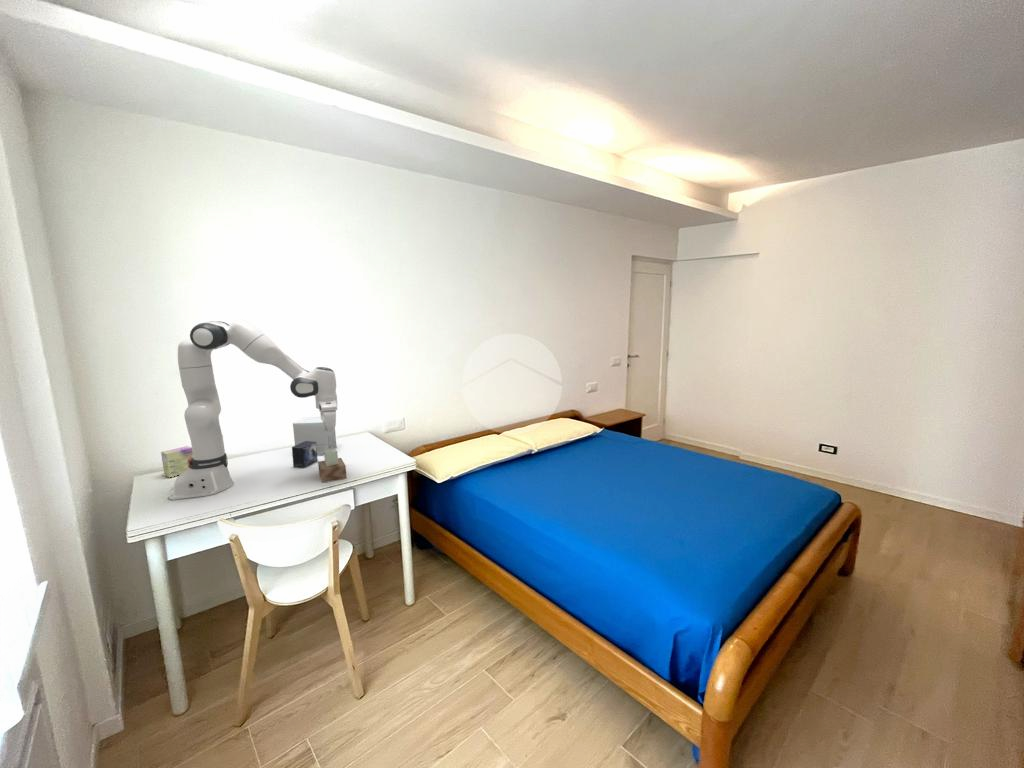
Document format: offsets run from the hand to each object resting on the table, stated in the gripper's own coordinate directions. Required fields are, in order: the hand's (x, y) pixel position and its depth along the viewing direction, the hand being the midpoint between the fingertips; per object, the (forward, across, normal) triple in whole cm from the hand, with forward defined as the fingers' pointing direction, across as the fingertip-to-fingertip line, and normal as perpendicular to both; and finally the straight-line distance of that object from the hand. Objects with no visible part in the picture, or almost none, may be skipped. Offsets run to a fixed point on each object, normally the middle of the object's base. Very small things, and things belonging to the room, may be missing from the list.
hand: (328, 433), depth 191 cm
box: (+22, -41, -60) cm, 76 cm away
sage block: (+14, 0, +1) cm, 14 cm away
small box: (+21, -23, -8) cm, 32 cm away
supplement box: (+21, -41, -1) cm, 46 cm away
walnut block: (+20, 0, +1) cm, 20 cm away
